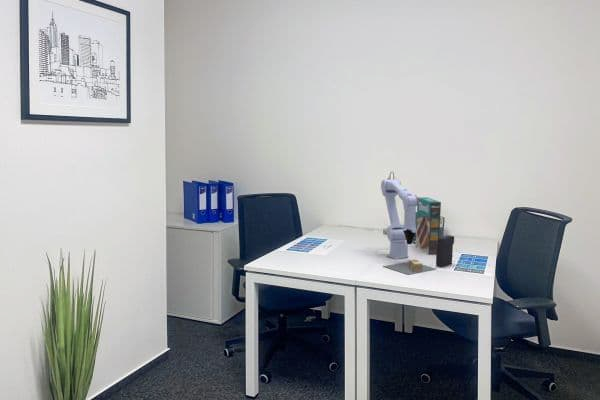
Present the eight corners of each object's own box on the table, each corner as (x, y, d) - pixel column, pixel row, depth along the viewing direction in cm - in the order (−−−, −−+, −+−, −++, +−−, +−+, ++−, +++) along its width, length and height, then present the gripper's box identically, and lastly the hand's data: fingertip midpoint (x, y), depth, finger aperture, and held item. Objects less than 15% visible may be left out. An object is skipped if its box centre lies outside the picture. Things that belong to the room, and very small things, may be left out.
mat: (410, 261, 277) (410, 261, 277) (436, 269, 262) (436, 268, 262) (382, 266, 267) (382, 266, 267) (407, 274, 252) (407, 274, 252)
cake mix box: (415, 246, 316) (417, 197, 312) (425, 246, 316) (427, 197, 312) (428, 254, 294) (430, 202, 290) (438, 254, 295) (440, 202, 291)
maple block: (408, 259, 264) (414, 263, 256) (416, 259, 264) (422, 263, 256) (408, 267, 264) (414, 271, 256) (416, 267, 265) (422, 271, 257)
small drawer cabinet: (445, 262, 277) (447, 234, 275) (453, 264, 274) (454, 236, 272) (434, 266, 269) (436, 237, 267) (442, 267, 266) (443, 238, 264)
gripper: (397, 216, 277) (397, 241, 279) (407, 220, 263) (406, 247, 265) (410, 216, 279) (409, 241, 280) (420, 220, 264) (420, 246, 266)
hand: (409, 244), depth 272 cm, fingers closed
